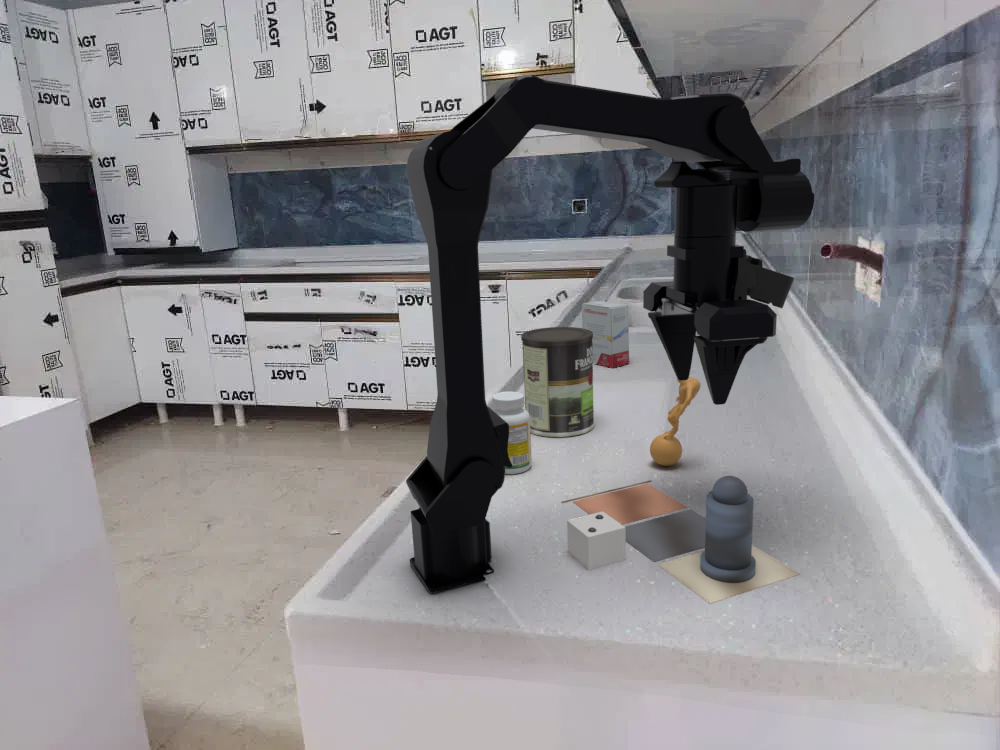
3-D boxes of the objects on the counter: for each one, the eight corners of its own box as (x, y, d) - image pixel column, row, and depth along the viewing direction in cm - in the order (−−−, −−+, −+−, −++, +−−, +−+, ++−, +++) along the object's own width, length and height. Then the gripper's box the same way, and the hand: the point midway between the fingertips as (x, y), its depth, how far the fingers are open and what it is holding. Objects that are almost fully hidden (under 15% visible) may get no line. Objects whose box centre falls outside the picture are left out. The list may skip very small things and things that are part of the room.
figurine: (651, 452, 98) (652, 364, 95) (698, 454, 97) (700, 365, 94) (647, 476, 91) (647, 381, 88) (698, 479, 89) (700, 382, 86)
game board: (706, 617, 62) (706, 611, 61) (561, 505, 84) (561, 500, 84) (815, 581, 66) (815, 575, 66) (650, 484, 88) (650, 479, 88)
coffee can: (603, 418, 113) (602, 327, 109) (581, 441, 104) (579, 342, 100) (540, 413, 117) (537, 325, 114) (513, 434, 108) (509, 339, 105)
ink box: (630, 364, 144) (630, 304, 141) (611, 368, 141) (611, 307, 138) (600, 357, 151) (599, 299, 148) (582, 361, 148) (580, 302, 145)
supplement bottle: (523, 477, 92) (520, 403, 90) (483, 472, 94) (479, 400, 92) (537, 461, 97) (535, 391, 95) (499, 457, 99) (496, 388, 97)
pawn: (724, 588, 65) (727, 492, 62) (689, 563, 69) (690, 473, 67) (767, 574, 66) (771, 480, 64) (730, 551, 71) (733, 463, 68)
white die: (589, 576, 69) (588, 534, 68) (567, 557, 73) (567, 517, 71) (625, 566, 70) (625, 525, 69) (603, 548, 74) (602, 508, 73)
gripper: (839, 237, 64) (826, 411, 68) (740, 226, 81) (734, 364, 85) (714, 244, 62) (709, 422, 66) (642, 231, 80) (641, 371, 84)
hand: (700, 391), depth 75 cm, fingers open, 9 cm apart
